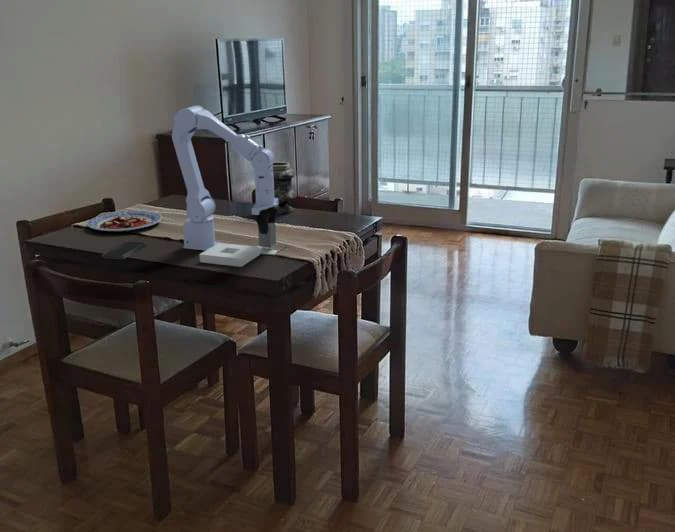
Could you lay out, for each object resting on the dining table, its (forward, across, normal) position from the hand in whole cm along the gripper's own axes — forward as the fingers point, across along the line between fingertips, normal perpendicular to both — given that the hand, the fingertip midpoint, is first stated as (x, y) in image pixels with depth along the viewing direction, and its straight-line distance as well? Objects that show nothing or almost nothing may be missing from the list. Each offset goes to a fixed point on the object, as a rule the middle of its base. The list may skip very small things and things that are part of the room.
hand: (266, 231), depth 218 cm
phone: (+6, -16, +43) cm, 46 cm away
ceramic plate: (+6, +10, +62) cm, 63 cm away
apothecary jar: (+6, +47, +18) cm, 50 cm away
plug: (+4, 0, 0) cm, 5 cm away
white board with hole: (+6, -12, +7) cm, 15 cm away
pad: (+6, 0, 0) cm, 6 cm away
